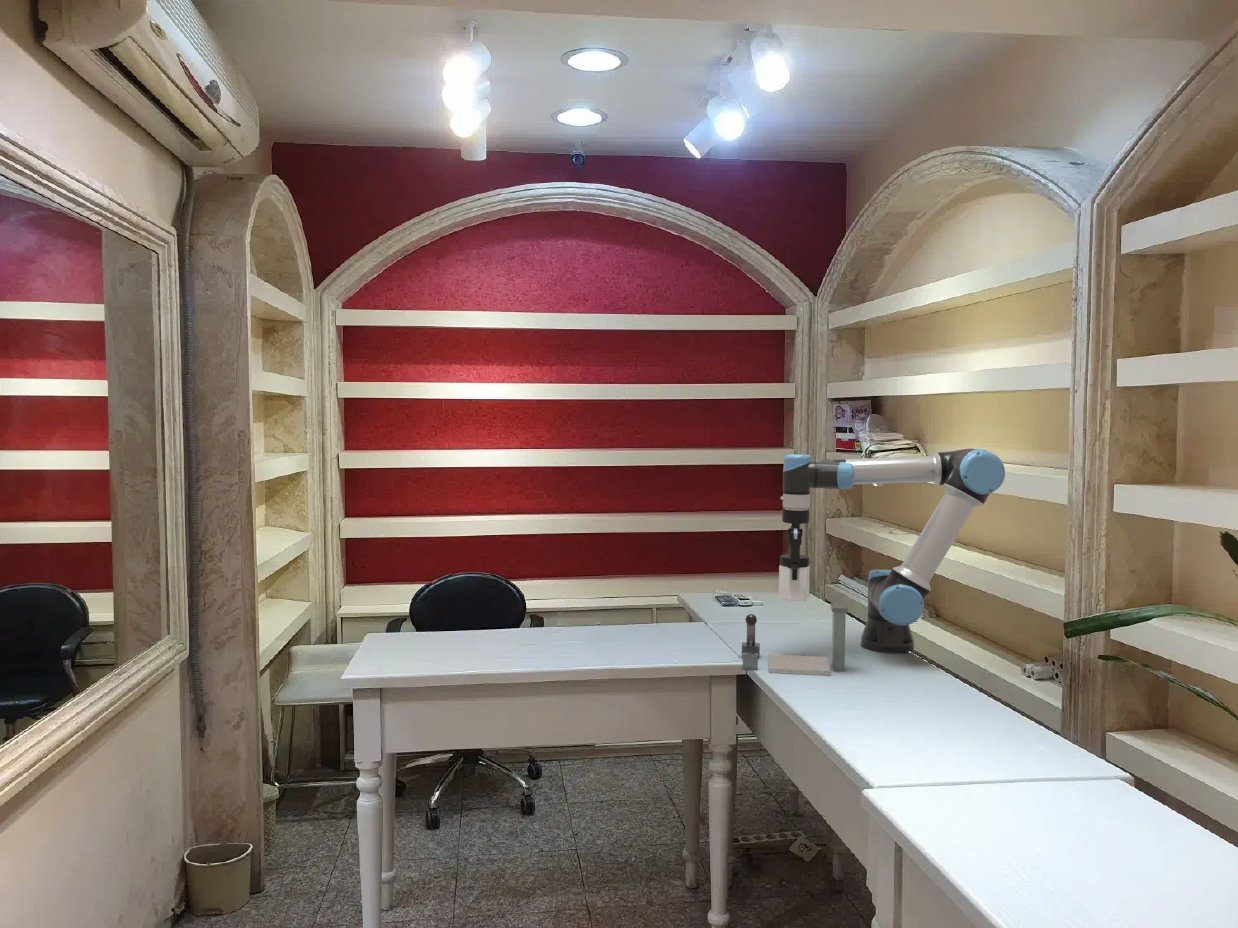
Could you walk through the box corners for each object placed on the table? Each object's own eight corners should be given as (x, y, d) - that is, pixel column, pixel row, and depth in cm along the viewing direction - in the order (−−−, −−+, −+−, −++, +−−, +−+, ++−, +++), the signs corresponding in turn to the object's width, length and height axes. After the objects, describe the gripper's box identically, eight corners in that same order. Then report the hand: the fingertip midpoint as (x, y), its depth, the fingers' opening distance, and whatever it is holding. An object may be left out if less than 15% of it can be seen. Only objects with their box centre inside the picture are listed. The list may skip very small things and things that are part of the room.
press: (842, 658, 247) (843, 598, 246) (848, 676, 230) (849, 611, 230) (743, 654, 252) (744, 594, 251) (742, 671, 235) (743, 607, 234)
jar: (815, 599, 249) (816, 557, 248) (796, 602, 244) (797, 559, 243) (791, 593, 256) (792, 553, 255) (772, 597, 251) (773, 555, 250)
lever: (759, 651, 251) (760, 612, 250) (759, 654, 247) (760, 616, 246) (742, 650, 252) (742, 612, 251) (741, 654, 248) (742, 615, 247)
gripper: (782, 504, 260) (781, 580, 261) (782, 512, 239) (780, 594, 240) (808, 505, 258) (806, 581, 259) (810, 513, 237) (808, 596, 239)
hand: (794, 588), depth 250 cm, fingers closed on jar, 8 cm apart
